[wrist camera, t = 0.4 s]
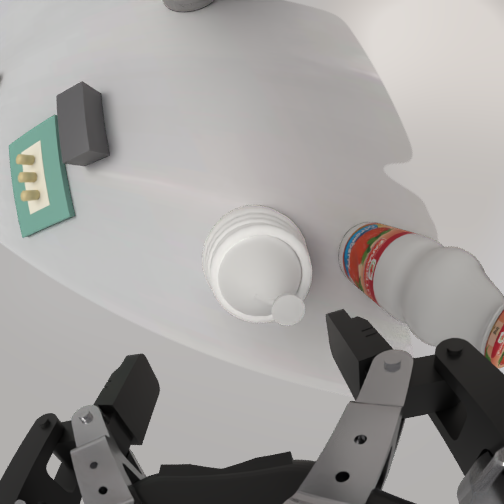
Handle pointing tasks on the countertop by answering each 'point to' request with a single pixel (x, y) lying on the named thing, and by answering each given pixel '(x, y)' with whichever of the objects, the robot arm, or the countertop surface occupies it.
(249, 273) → the honey pot
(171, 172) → the countertop surface
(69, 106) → the block
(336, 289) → the countertop surface
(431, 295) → the fruit juice
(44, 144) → the header board
